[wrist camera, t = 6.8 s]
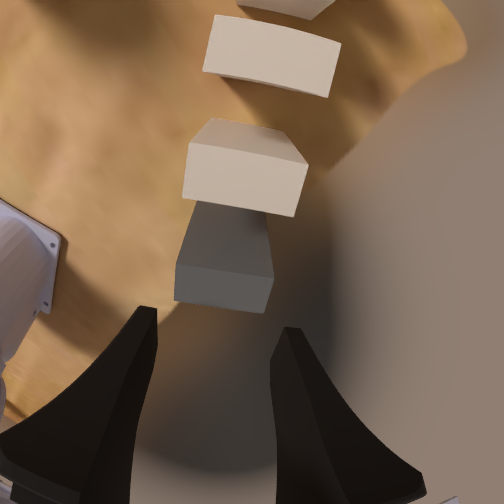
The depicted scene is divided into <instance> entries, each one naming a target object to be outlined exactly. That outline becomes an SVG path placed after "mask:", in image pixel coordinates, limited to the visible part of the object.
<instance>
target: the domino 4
mask: <svg viewBox="0 0 504 504" xmlns="http://www.w3.org/2000/svg"><path fill="white" fill-rule="evenodd" d="M274 279H275V278H274V271H273V264H272V256H271V250H270V243H269V236H268V229H267V222H266V215H265V212H263V211H257V210H252V209H246V208H240V207H235V206H229V205H223V204H217V203H211V202H205V201H199V200H197V202H196V205H195V208H194V211H193V214H192V217H191V219H190V222H189V225H188V228H187V231H186V234H185V237H184V240H183V243H182V246H181V249H180V252H179V255H178V259H177V262H176V270H175V287H174V301H180V302H186V303H192V304H200V305H205V306H212V307H219V308H226V309H233V310H241V311H248V312H256V313H264V310H265V307H266V304H267V301H268V298H269V295H270V292H271V289H272V285H273V282H274Z"/></svg>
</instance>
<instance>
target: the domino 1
mask: <svg viewBox="0 0 504 504" xmlns="http://www.w3.org/2000/svg"><path fill="white" fill-rule="evenodd" d="M334 1H336V0H236V2H237V5H242V6H248V7H254V8H259V9H264V10H269V11H274V12H278V13H283V14H287V15H291V16H295V17H299V18H303V19H306V20H310V21H311V20H312V19H313V18H315V17H316V16H317V15H318V14H319V13H321V12H322V11H323V10H324V9H326V8H327V7H328V6H329V5H331V4H332V3H333V2H334Z"/></svg>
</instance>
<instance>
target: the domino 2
mask: <svg viewBox="0 0 504 504" xmlns="http://www.w3.org/2000/svg"><path fill="white" fill-rule="evenodd" d="M341 44H342V43H339V42H336V41H333V40H330V39H327V38H324V37H320V36H317V35H314V34H310V33H307V32H303V31H300V30H296V29H292V28H288V27H284V26H279V25H275V24H270V23H266V22H261V21H255V20H250V19H244V18H238V17H231V16H223V15H215V18H214V22H213V26H212V30H211V34H210V38H209V43H208V47H207V52H206V56H205V61H204V66H203V70H202V71H203V72H207V73H210V74H214V75H217V76H221V77H228V78H234V79H240V80H245V81H251V82H256V83H261V84H265V85H270V86H275V87H279V88H283V89H287V90H291V91H296V92H302V93H307V94H312V95H317V96H321V97H326V98H328V95H329V91H330V87H331V83H332V80H333V76H334V72H335V68H336V64H337V60H338V56H339V52H340V48H341Z"/></svg>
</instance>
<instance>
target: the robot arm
mask: <svg viewBox="0 0 504 504" xmlns="http://www.w3.org/2000/svg"><path fill="white" fill-rule="evenodd" d="M53 243H54V244H55V245H54V244H53ZM60 245H61V237H60V235H59V234H57V233H56V232H54V231H52V230H51V229H49V228H47V227H45V226H44V225H42V224H40V223H38V222H37V221H35V220H33V219H32V218H30V217H28V216H27V215H25V214H23V213H22V212H20V211H18V210H17V209H15V208H13V207H12V206H10V205H9V204H7V203H5V202H4V201H2V200H1V199H0V420H1V418H2V415H3V412H4V408H5V402H6V387H5V383H4V380H3V378H2V377H1V374H2V372H3V370H4V368H5V366H6V365H5V362H7V361H9V360H10V359H11V358H12V357H13V356H14V355H15V353H16V351H17V350H18V348H19V346H20V344H21V342H22V341H23V339H24V337H25V335H26V333H27V332H28V330H29V328H30V327H31V325H32V323H33V322H34V320H35V318H36V317H37V315H38V313H39V312H40V311H42V312H44V313H46V314H50V312H51V307H52V298H53V289H54V282H55V274H56V268H57V262H58V256H59V250H60ZM157 340H158V337H157V308H152V307H146V306H141V305H140V306H139V307H137V309H136V310H135V312H134V313H133V315H132V316H131V317H130V319H129V320H128V321H127V323H126V324H125V325H124V327H123V328H122V329H121V331H120V332H119V333H118V334H117V336H116V337H115V338H114V339H113V340H112V342H111V343H110V344H109V345H108V346H107V348H106V349H105V350H104V351H103V352H102V353H101V354H100V355H99V357H98V358H97V359H96V360H95V361H94V362H93V363H92V364H91V365H90V366H89V367H88V368H87V369H86V370H85V371H84V372H83V373H82V374H81V375H80V376H79V377H78V378H77V379H76V380H75V381H74V382H73V383H72V384H71V385H70V386H69V387H67V388H66V389H65V390H64V391H63V392H62V393H60V394H59V395H58V396H57V397H56V398H54V399H53V400H52V401H51V402H49V403H48V404H47V405H45V406H44V407H42V408H41V409H39V410H38V411H37V412H35V413H34V414H32V415H31V416H30V417H28V418H26V419H25V420H23V421H22V422H20V423H18V424H16V425H15V426H13V427H11V428H9V429H8V430H6V431H4V432H2V433H1V434H0V475H2V476H3V477H5V478H7V479H8V480H10V481H12V482H13V485H12V487H10V486H9V485H7V484H5V483H3V482H2V480H0V504H129V501H130V483H131V471H132V461H133V452H134V445H135V438H136V431H137V426H138V421H139V417H140V413H141V410H142V406H143V403H144V399H145V395H146V392H147V389H148V385H149V382H150V379H151V375H152V372H153V368H154V362H155V357H156V351H157V346H158V341H157ZM270 388H271V396H272V405H273V413H274V420H275V428H276V437H277V491H276V504H407V503H410V502H412V501H415V500H417V499H419V498H422V497H424V496H425V495H426V493H427V492H426V488H425V484H424V480H423V476H422V473H421V472H419V471H418V470H416V469H415V468H413V467H412V466H411V465H409V464H408V463H406V462H405V461H403V460H402V459H401V458H399V457H398V456H397V455H396V454H395V453H393V452H392V451H391V450H390V449H389V448H387V447H386V446H385V445H384V444H383V443H382V442H381V441H380V440H379V439H378V438H377V437H376V436H375V435H374V434H373V433H372V432H371V431H370V430H369V429H368V428H367V427H366V426H365V425H364V424H363V423H362V422H361V420H360V419H359V418H358V417H357V416H356V414H355V413H354V412H353V411H352V410H351V408H350V407H349V406H348V404H347V403H346V402H345V400H344V399H343V398H342V396H341V395H340V393H339V392H338V390H337V389H336V388H335V386H334V385H333V383H332V382H331V380H330V378H329V377H328V375H327V374H326V372H325V370H324V369H323V367H322V365H321V364H320V362H319V361H318V359H317V357H316V355H315V353H314V351H313V350H312V348H311V346H310V345H309V343H308V341H307V339H306V337H305V335H304V333H303V331H302V330H301V329H300V328H290V327H284V329H283V332H282V334H281V336H280V339H279V341H278V344H277V346H276V348H275V351H274V353H273V355H272V358H271V360H270ZM439 504H459V500H458V496H454V497H453V498H450V499H448V500H446V501H444V502H441V503H439Z"/></svg>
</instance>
